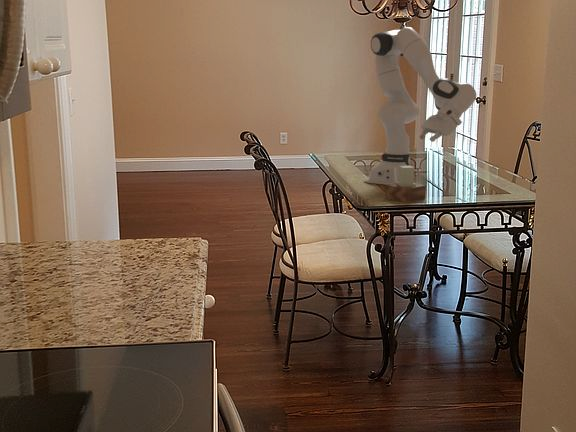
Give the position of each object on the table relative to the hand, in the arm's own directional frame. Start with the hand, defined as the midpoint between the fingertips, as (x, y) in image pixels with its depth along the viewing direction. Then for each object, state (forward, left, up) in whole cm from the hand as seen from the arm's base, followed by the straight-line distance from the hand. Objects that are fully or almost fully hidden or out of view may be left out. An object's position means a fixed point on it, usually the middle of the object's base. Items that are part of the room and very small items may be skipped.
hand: (425, 139), depth 301 cm
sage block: (-7, -5, -19) cm, 21 cm away
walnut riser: (-7, -6, -25) cm, 27 cm away
